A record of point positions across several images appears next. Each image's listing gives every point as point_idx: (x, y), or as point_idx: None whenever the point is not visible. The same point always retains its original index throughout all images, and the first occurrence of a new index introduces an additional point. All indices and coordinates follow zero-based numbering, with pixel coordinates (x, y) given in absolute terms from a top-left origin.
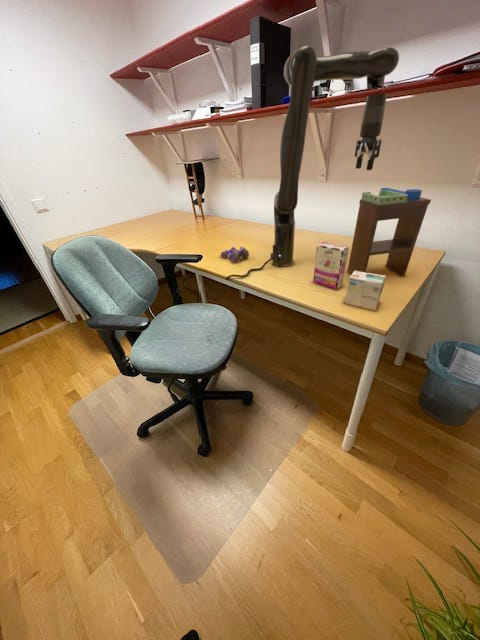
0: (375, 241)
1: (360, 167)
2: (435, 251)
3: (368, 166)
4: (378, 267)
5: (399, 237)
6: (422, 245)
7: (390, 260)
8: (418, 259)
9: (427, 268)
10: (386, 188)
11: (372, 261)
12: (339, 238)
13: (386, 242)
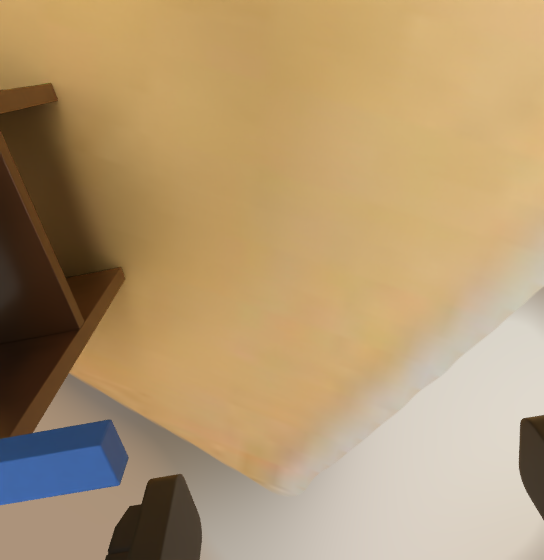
0: (38, 240)
1: (525, 481)
2: (266, 470)
3: (139, 530)
4: (111, 238)
5: (30, 348)
6: (334, 461)
7: (90, 286)
8: (193, 398)
9: (108, 390)
10: (69, 471)
11: (180, 237)
12: (538, 181)
13: (23, 284)
